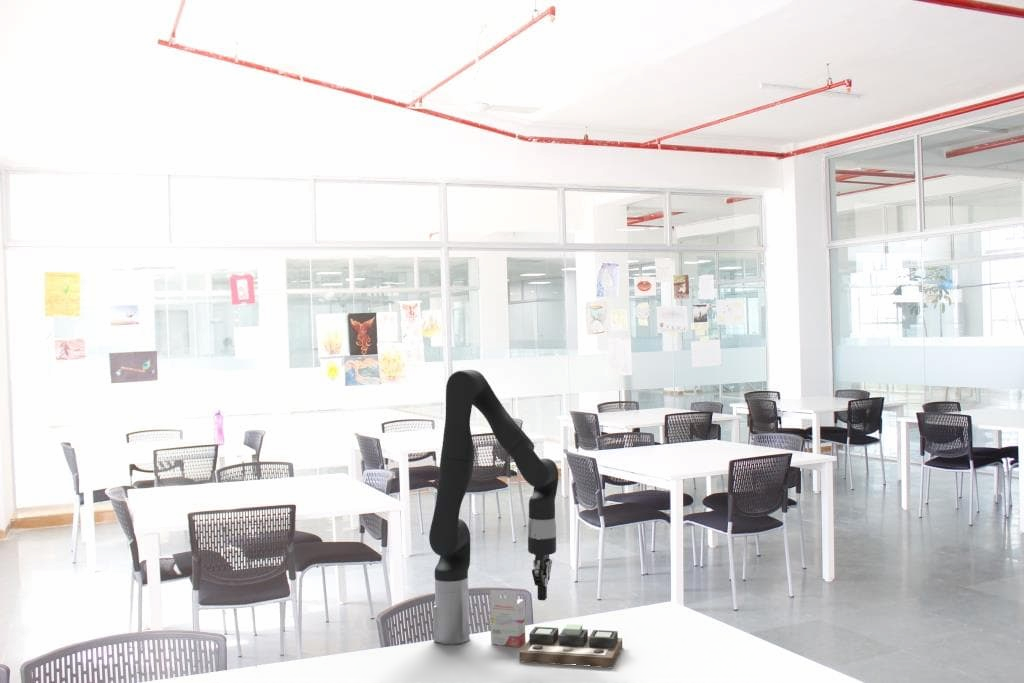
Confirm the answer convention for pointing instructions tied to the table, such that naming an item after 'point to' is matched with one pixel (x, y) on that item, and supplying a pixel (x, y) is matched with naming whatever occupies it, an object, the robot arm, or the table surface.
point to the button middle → (573, 630)
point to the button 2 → (603, 634)
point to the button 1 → (544, 631)
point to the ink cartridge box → (507, 619)
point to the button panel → (571, 648)
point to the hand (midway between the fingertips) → (542, 599)
